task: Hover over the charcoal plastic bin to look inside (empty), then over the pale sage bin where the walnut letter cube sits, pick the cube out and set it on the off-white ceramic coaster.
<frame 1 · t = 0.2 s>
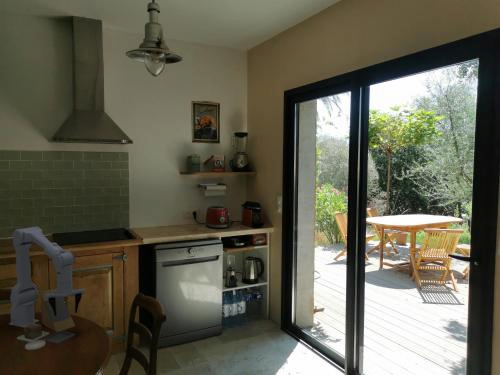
hand: (65, 313, 161), 9 cm above the table, tool pointing down, fingers open, 7 cm apart
coaster: (35, 346, 152), on the table
sandwich container: (58, 326, 172), on the table
walnut cube: (33, 336, 160), resting on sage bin
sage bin: (33, 337, 160), on the table
charcoal bin: (59, 338, 158), on the table
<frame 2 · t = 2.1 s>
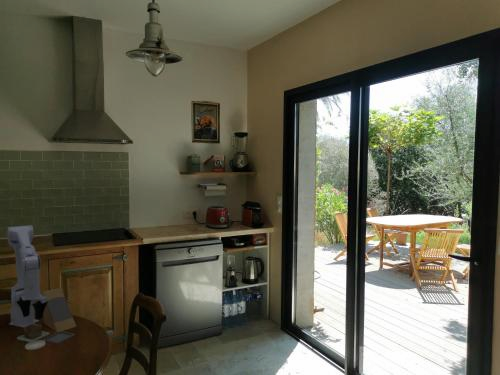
hand: (32, 317, 159), 8 cm above the table, tool pointing down, fingers open, 7 cm apart
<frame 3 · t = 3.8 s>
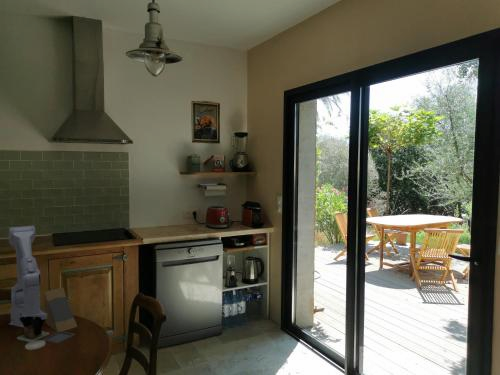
hand: (33, 333, 160), 2 cm above the table, tool pointing down, fingers closed on walnut cube, 4 cm apart
walnut cube: (33, 336, 160), resting on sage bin, touching gripper
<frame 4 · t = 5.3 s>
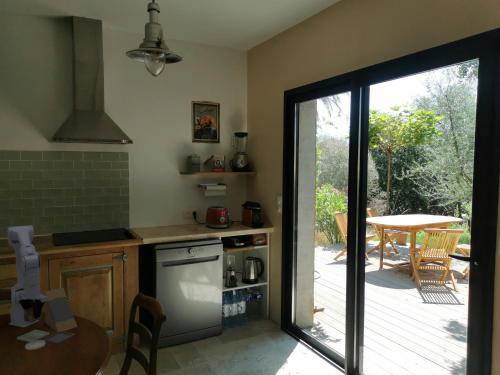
hand: (32, 316, 159), 9 cm above the table, tool pointing down, fingers closed on walnut cube, 4 cm apart
walnut cube: (33, 319, 159), point 8 cm above the table, touching gripper
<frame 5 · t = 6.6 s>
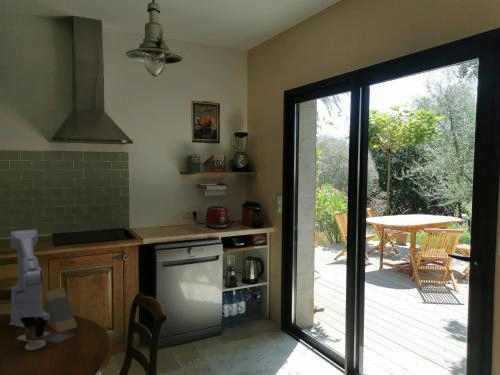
hand: (35, 335, 151), 5 cm above the table, tool pointing down, fingers closed on walnut cube, 4 cm apart
walnut cube: (35, 338, 151), point 3 cm above the table, touching gripper
when the fingers open (4 cm above the table, at t = 7.2 s): walnut cube drops 2 cm, resting on coaster.
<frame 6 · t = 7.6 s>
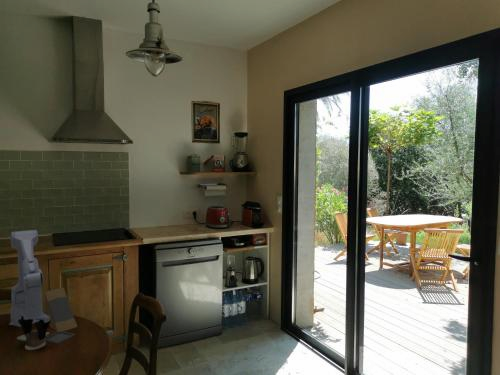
hand: (35, 337, 151), 4 cm above the table, tool pointing down, fingers open, 7 cm apart
sandwich container: (61, 326, 171), on the table, touching charcoal bin
walnut cube: (35, 344, 152), point 1 cm above the table, touching coaster
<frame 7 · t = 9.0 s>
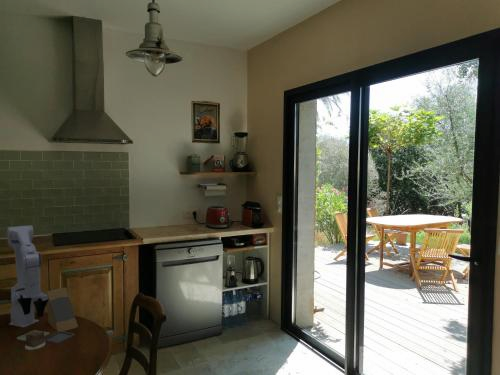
hand: (33, 315, 159), 9 cm above the table, tool pointing down, fingers open, 7 cm apart
sandwich container: (63, 326, 172), on the table
everything else where it was.
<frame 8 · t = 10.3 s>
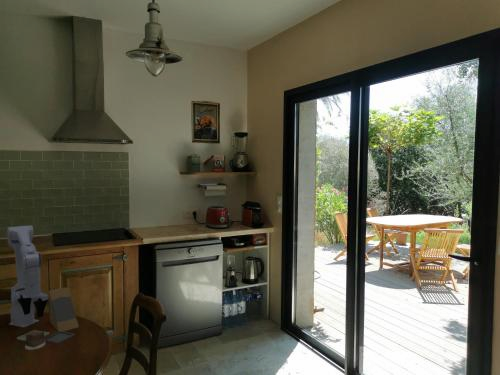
hand: (33, 315, 159), 9 cm above the table, tool pointing down, fingers open, 7 cm apart
at the end: walnut cube 0.0 cm off-centre on the coaster, point 1.0 cm above the coaster's base; walnut cube tilted 0°; the gripper is holding nothing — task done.
